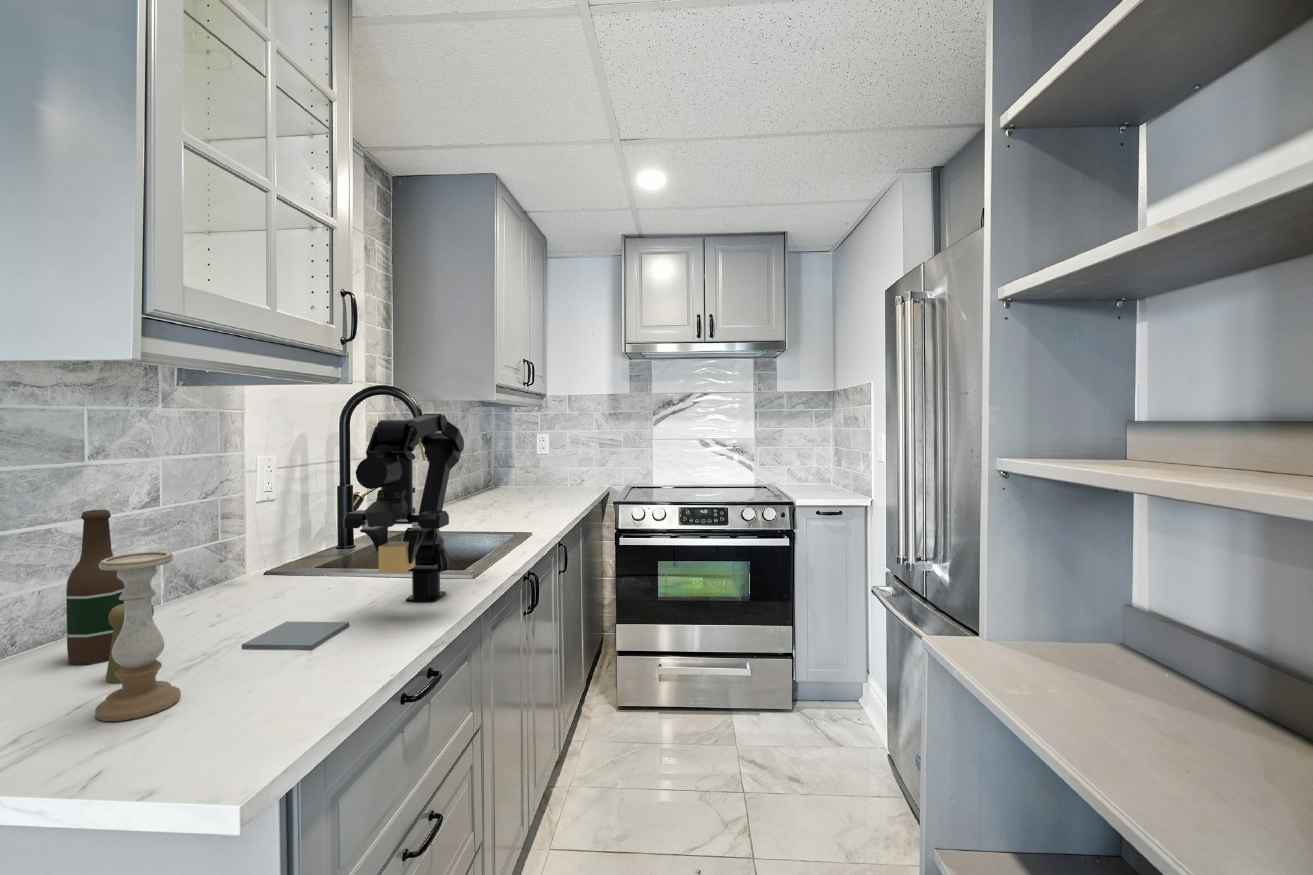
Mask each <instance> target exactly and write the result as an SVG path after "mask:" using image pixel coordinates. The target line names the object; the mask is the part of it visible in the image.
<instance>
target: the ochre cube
mask: <svg viewBox="0 0 1313 875" xmlns="http://www.w3.org/2000/svg"><path fill="white" fill-rule="evenodd" d="M408 549H409V542H403V541H388V542H387V543H386V544H384V545H381V546H379V547H378V553H377V555H378V556H377V557H378V573H381V574H382V573H383V574H384V573H388V574H390V573H391V574H392V573H394V574H396V573H397V574H399V573H401V574H404V573H406V572H407V571H408V570H410V569H412V568H414V567H415V558H414V561H413V563H411V564H409V560H408ZM407 573H408V572H407Z"/></svg>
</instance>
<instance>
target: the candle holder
mask: <svg viewBox="0 0 1313 875" xmlns="http://www.w3.org/2000/svg"><path fill="white" fill-rule="evenodd" d="M173 561H174V554H173V553H172V552H169V551H144V552H132V553H125V554H120V555H113V557H109V558H106V559H103V560H101V561H100V563H99V568H100V569H102V570H108V571H117V578H118V579H120V580H121V581H122V582H123V583H124V586H125V589H124V591H123V593H122V594H121V595H120V597H119V600H122V601H124V607H125V609H124V622H123V626H122V629H121V631H120V633H119V635H118V637H117V639H116V640H115V643H114V645H113V648H112V658H113V659H114V661H115V662H116V663H117V664H119V665H121V667H120V669H118V670H117V671H116V673H115V676H116V677H118V678H119V679H120V681H121V682H122V683H121V688H119V689H117V690H115V691H113V692H111V693H109V694H108V695H107V696H106V698H105V700H103V701H102V702H100V703H98V705H97V706H96V707H95V710H94V714H95V718H96V719H97V720H99V721H102V722H121V721H123V722H124V721H129V720H134V719H139V718H143V717H147V716H150V715H153V714H157V713H159V712H163V710H164V711H165V710H166V709H168V708H170V707H172V706H174V705H175V704H177V703H178V702H179V701H180V698H181V696H182V694H181V693H182V692H181V689H180V688H179V687H178V686H173V685H172V684H171V683H170V682H168V681H164V680H156V679H157V674H158V672H159V671H160V669H162V667H163V664H162V662H161V661H159V660H158V658H159V656H160V655H161V654H162V653H163V651H164V649H165V639H164V637H163V635H162V633H161V631H160V630H159V628H158V626H157V625H156V624H155V621H154V618H153V617H152V610H151V605H152V599H153V597H154V596H156V595H157V591H156V590H154V588H153V587H152V585H151V584H152V580H153V578H154V577H155V576H156V575H157V573H158V572H159V571H158V567H159V566H163V565H166V564H169V563H171V562H173Z"/></svg>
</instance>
